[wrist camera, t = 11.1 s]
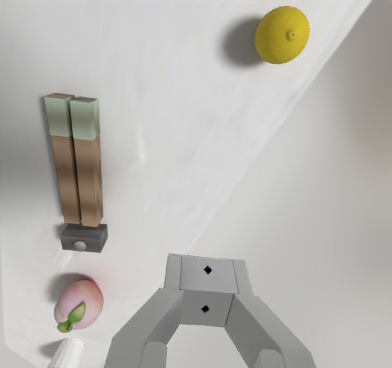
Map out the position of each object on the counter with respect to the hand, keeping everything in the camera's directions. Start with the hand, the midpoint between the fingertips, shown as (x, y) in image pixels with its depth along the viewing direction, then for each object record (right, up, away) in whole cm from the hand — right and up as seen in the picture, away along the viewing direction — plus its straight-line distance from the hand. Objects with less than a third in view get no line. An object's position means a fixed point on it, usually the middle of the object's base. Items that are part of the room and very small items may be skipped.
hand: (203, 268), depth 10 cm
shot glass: (-31, -37, +53) cm, 72 cm away
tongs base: (-18, +5, +30) cm, 36 cm away
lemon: (+9, +22, +22) cm, 32 cm away
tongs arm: (-16, +7, +29) cm, 34 cm away
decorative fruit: (-22, -17, +43) cm, 51 cm away
